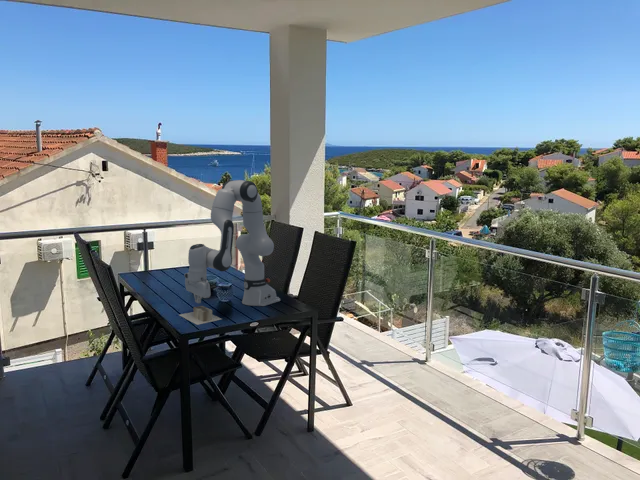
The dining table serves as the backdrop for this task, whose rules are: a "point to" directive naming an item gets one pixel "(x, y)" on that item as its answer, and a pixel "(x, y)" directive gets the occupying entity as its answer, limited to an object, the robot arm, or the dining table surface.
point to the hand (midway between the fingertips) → (198, 302)
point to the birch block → (202, 313)
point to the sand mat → (191, 318)
